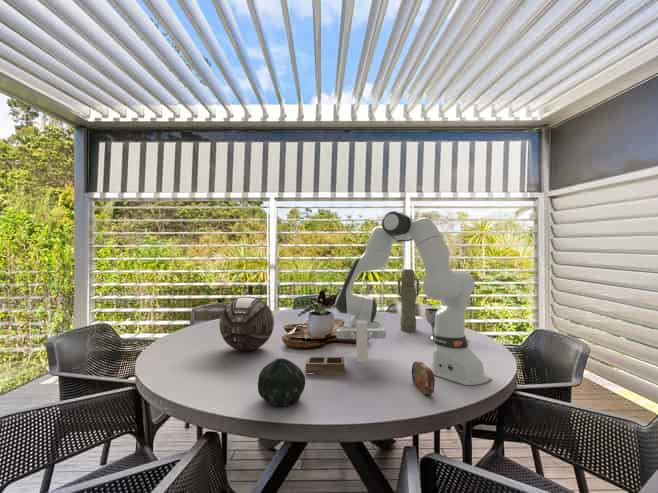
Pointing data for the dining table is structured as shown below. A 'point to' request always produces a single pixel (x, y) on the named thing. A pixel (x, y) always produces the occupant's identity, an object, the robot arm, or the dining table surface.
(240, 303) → the sphere
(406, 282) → the stone pillar
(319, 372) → the walnut rack
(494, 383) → the dining table surface
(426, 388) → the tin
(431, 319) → the wine glass
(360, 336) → the cream rectangular block
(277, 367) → the squash
